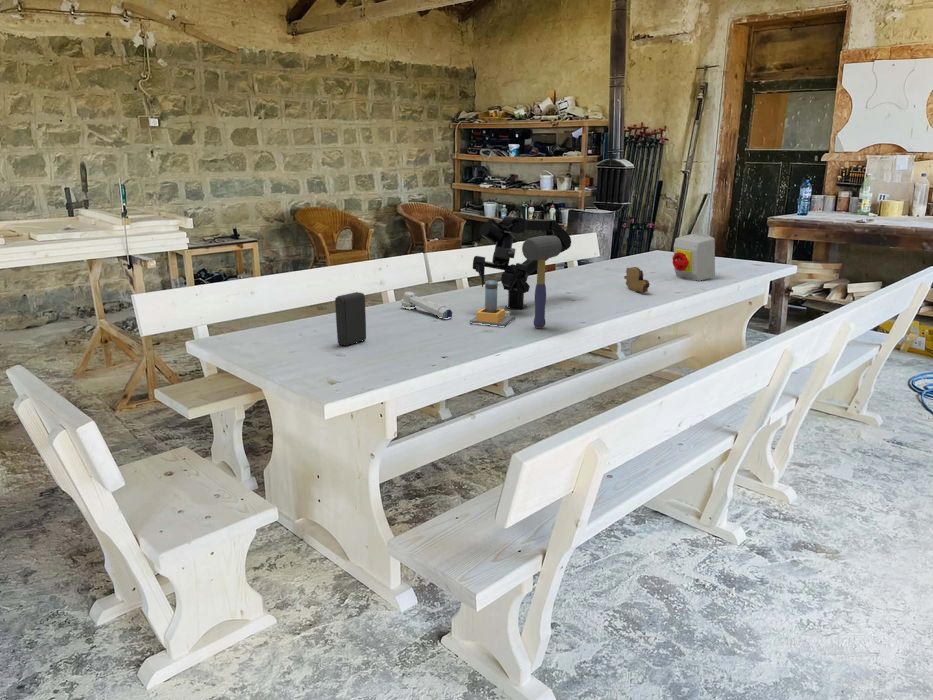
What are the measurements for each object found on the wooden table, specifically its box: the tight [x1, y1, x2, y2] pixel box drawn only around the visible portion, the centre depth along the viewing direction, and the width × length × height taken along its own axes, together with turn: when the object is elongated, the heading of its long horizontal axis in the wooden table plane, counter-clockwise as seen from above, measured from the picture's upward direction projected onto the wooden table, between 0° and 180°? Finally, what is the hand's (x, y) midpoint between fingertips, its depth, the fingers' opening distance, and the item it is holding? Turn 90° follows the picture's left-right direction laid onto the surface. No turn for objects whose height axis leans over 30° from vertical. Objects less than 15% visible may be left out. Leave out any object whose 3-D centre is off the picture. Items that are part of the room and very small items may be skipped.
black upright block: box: [334, 291, 367, 346], centre depth 208 cm, size 9×4×15 cm, turn 141°
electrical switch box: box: [671, 232, 716, 282], centre depth 306 cm, size 15×15×20 cm
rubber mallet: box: [521, 235, 562, 329], centre depth 223 cm, size 12×8×30 cm, turn 133°
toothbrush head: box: [400, 291, 453, 319], centre depth 246 cm, size 5×7×25 cm
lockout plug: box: [484, 279, 499, 313], centre depth 231 cm, size 4×4×13 cm
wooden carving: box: [623, 266, 651, 294], centre depth 281 cm, size 16×5×10 cm, turn 22°
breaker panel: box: [469, 306, 516, 327], centre depth 234 cm, size 12×12×4 cm
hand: (495, 288), depth 238 cm, fingers open, 9 cm apart
